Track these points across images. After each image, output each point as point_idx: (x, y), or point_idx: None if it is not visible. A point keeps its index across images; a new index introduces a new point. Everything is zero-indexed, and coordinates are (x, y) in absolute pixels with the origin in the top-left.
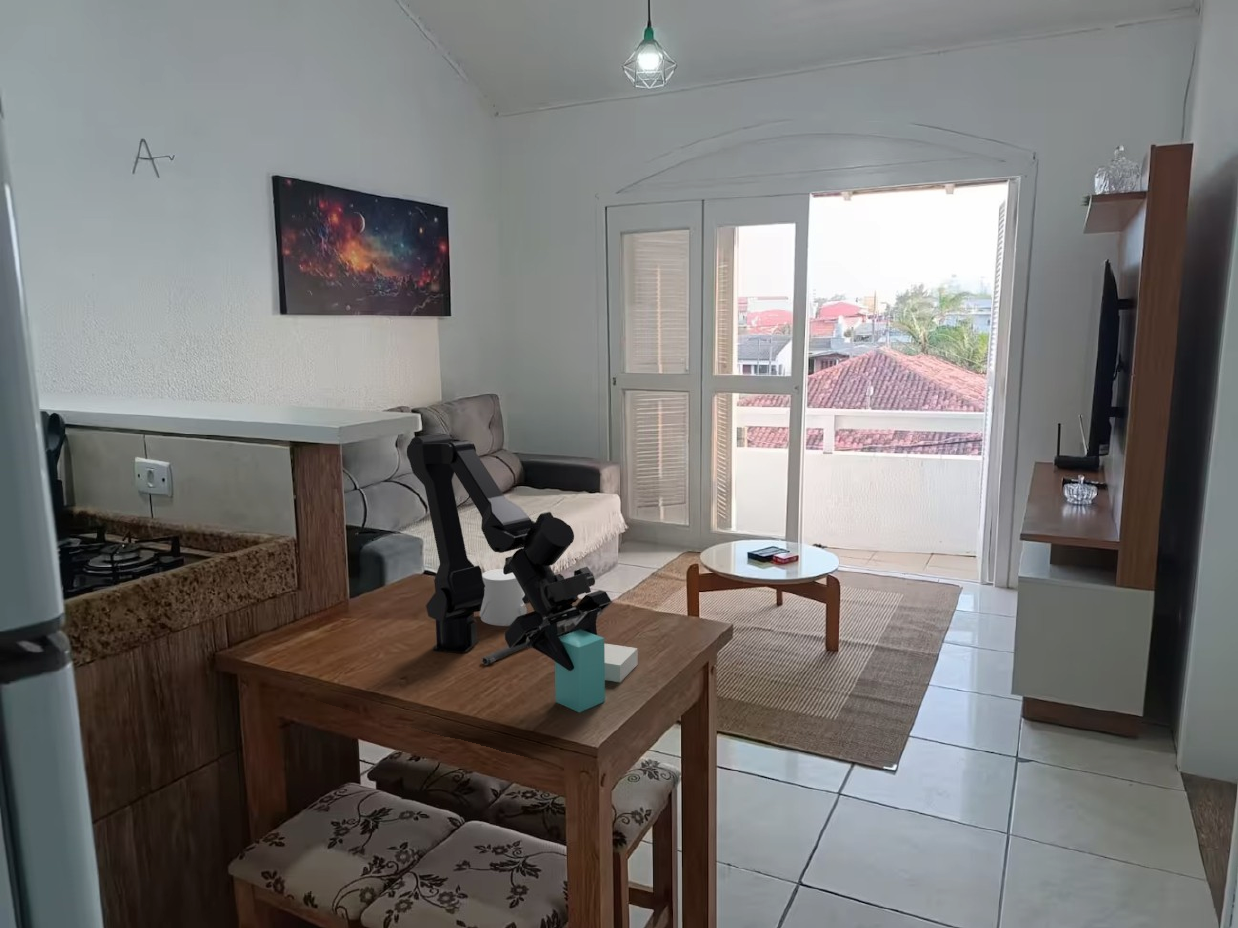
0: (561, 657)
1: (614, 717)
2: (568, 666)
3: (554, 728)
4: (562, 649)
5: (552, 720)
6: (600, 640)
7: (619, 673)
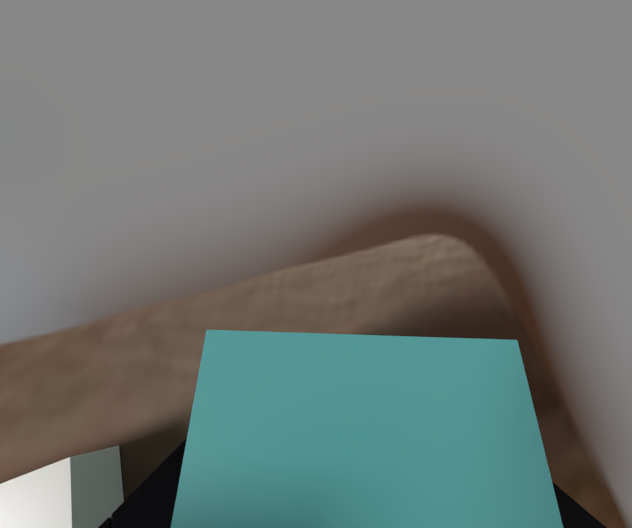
0: None
1: (334, 283)
2: None
3: None
4: (574, 524)
5: None
6: (255, 334)
7: (97, 454)
